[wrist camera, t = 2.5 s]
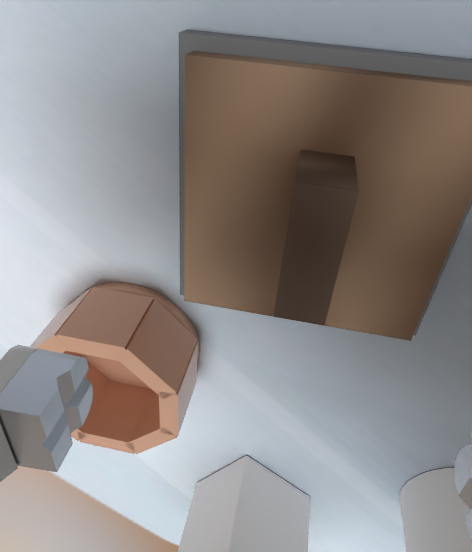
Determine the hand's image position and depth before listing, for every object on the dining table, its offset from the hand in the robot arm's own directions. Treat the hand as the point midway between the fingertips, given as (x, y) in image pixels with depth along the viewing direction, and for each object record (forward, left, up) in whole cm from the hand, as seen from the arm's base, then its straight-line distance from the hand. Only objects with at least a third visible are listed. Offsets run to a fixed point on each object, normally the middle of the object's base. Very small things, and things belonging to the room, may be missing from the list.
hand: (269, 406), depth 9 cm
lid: (-1, 0, -10) cm, 10 cm away
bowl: (+8, +10, -11) cm, 17 cm away
